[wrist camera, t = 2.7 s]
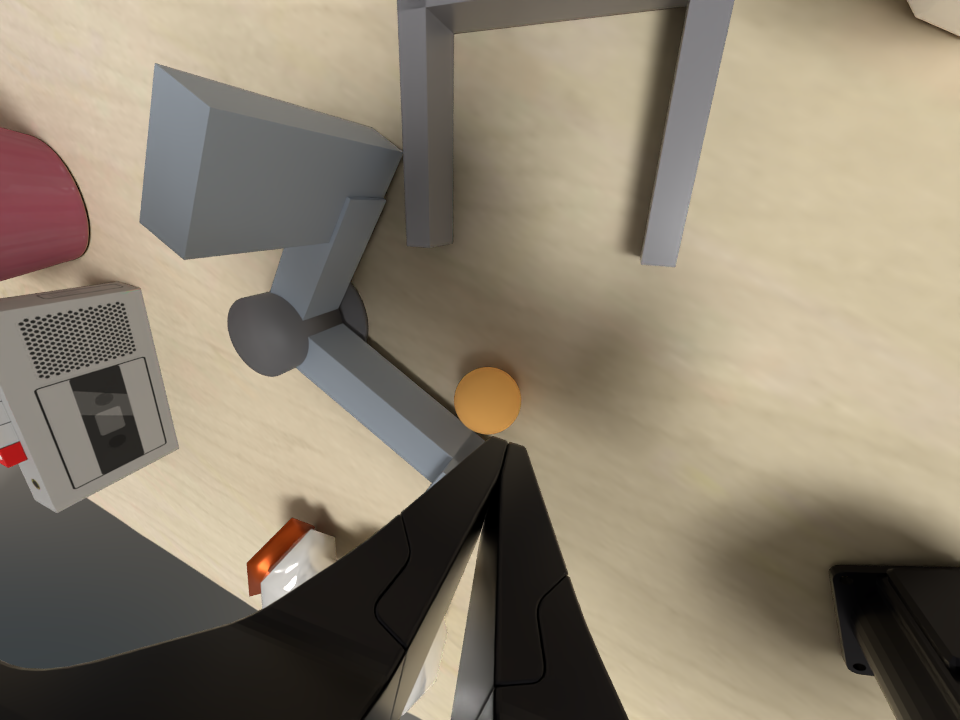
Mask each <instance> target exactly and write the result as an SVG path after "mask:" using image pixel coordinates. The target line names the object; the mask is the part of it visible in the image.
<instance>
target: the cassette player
mask: <svg viewBox="0 0 960 720" xmlns="http://www.w3.org/2000/svg"><path fill="white" fill-rule="evenodd" d="M177 449H179V445H178V441H177V437H176V433H175V429H174V425H173V420H172V416H171V412H170V408H169V404H168V400H167V395H166V391H165V387H164V383H163V379H162V375H161V370H160V366H159V362H158V358H157V354H156V350H155V345H154V341H153V337H152V333H151V329H150V325H149V320H148V316H147V312H146V308H145V304H144V300H143V296H142V291H141V288H138V287H134V286H131V285H128V284H124V283H121V282H111V283H104V284H98V285H91V286H84V287H77V288H70V289H63V290H56V291H49V292H42V293H35V294H28V295H21V296H14V297H7V298H0V463H1V464H2V465H4V466H6V467H7V468H9V467H11V466H14V465H16V464H19V466H20V468H21V470H22V473H23V475H24V477H25V479H26V481H27V484H28V486H29V487H30V490H31V492H32V494H33V497H34V499H35V500H36V501H37V502H39V503H41V504H42V505H44V506H46V507H48V508H49V509H51V510H53V511H54V512H56V513H58V512H60V511H62V510H64V509H66V508H67V507H69V506H71V505H73V504H75V503H77V502H79V501H81V500H82V499H84V498H86V497H88V496H90V495H92V494H94V493H96V492H98V491H100V490H102V489H103V488H105V487H107V486H109V485H111V484H113V483H115V482H117V481H119V480H121V479H122V478H124V477H126V476H128V475H130V474H132V473H134V472H136V471H138V470H139V469H141V468H143V467H145V466H147V465H149V464H151V463H153V462H155V461H157V460H158V459H160V458H162V457H164V456H166V455H168V454H170V453H172V452H174V451H175V450H177Z"/></svg>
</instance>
